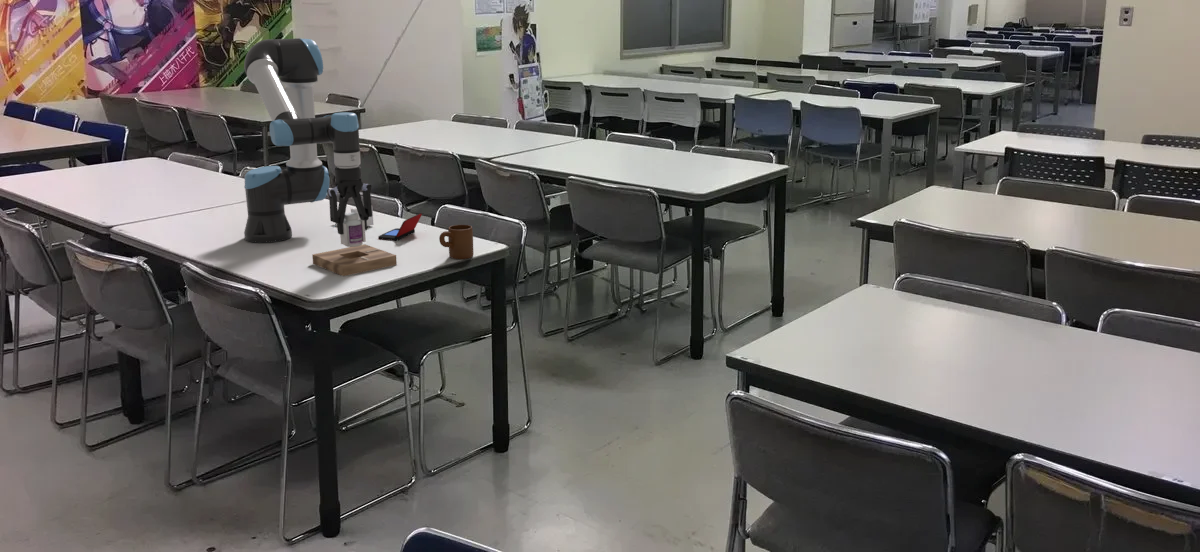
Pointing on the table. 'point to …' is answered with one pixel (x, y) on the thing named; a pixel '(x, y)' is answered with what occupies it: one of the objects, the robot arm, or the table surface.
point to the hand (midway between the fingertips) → (353, 242)
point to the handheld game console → (402, 229)
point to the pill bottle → (353, 230)
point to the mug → (458, 241)
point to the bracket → (369, 221)
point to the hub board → (354, 260)
